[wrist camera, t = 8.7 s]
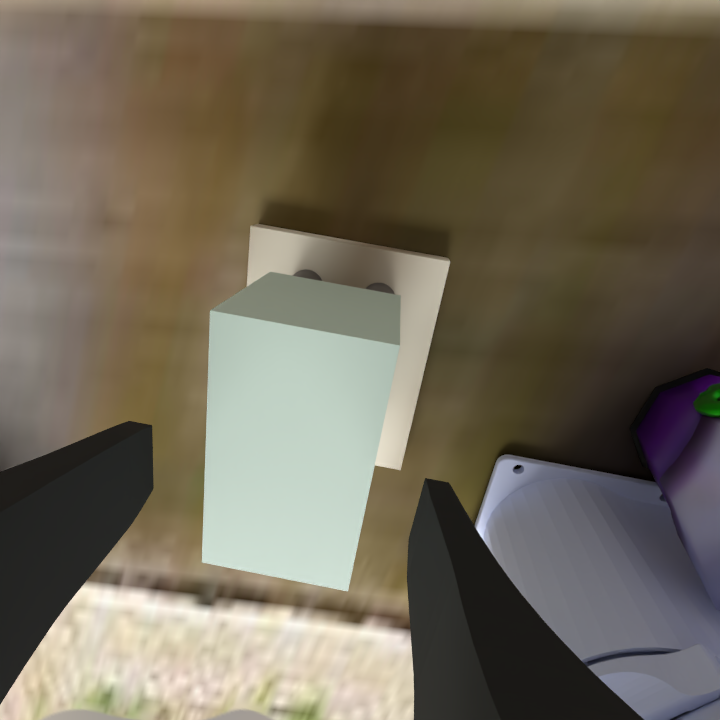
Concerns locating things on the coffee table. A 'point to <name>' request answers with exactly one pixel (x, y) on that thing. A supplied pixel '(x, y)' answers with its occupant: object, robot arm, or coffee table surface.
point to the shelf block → (295, 424)
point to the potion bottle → (687, 464)
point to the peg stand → (373, 272)
